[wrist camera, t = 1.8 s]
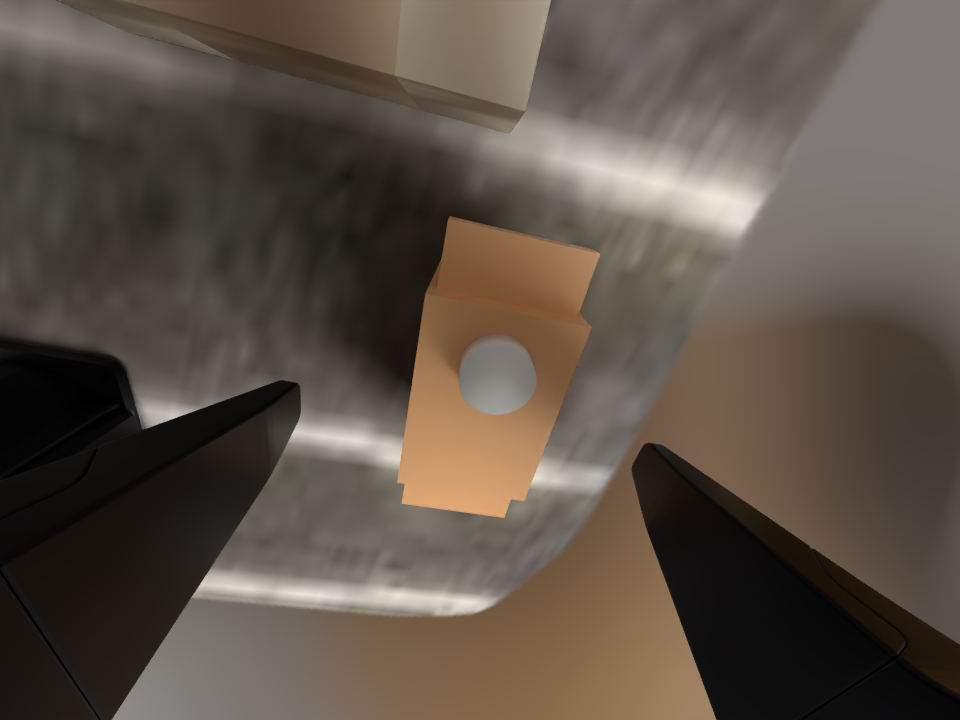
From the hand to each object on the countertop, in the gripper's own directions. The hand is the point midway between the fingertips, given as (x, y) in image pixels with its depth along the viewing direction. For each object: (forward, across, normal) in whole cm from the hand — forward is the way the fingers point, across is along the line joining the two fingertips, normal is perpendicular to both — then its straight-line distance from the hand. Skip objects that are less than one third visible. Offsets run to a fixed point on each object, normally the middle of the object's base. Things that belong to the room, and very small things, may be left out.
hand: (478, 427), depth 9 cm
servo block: (+6, 0, 0) cm, 6 cm away
